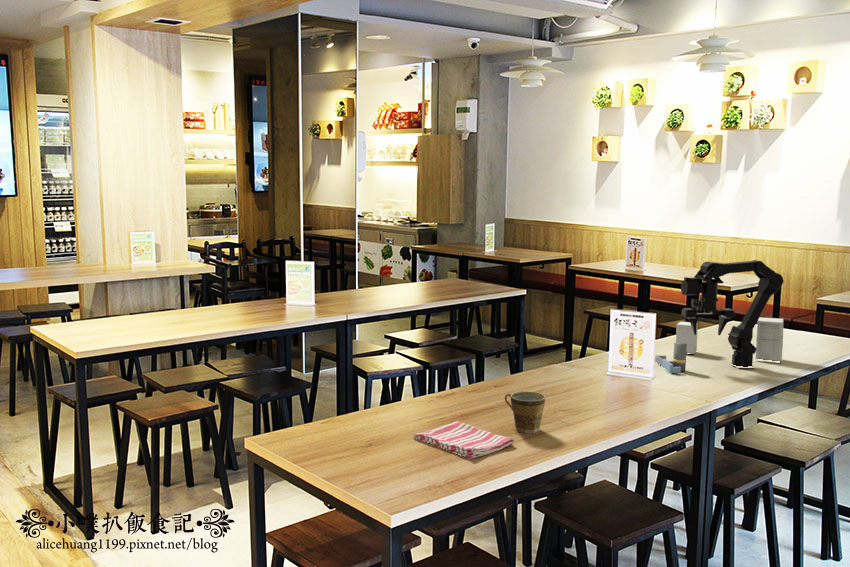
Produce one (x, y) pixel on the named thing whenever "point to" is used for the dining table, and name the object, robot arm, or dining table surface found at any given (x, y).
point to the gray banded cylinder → (680, 355)
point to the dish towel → (465, 440)
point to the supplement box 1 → (686, 336)
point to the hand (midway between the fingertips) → (707, 335)
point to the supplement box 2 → (769, 339)
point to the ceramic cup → (527, 410)
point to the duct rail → (667, 364)
